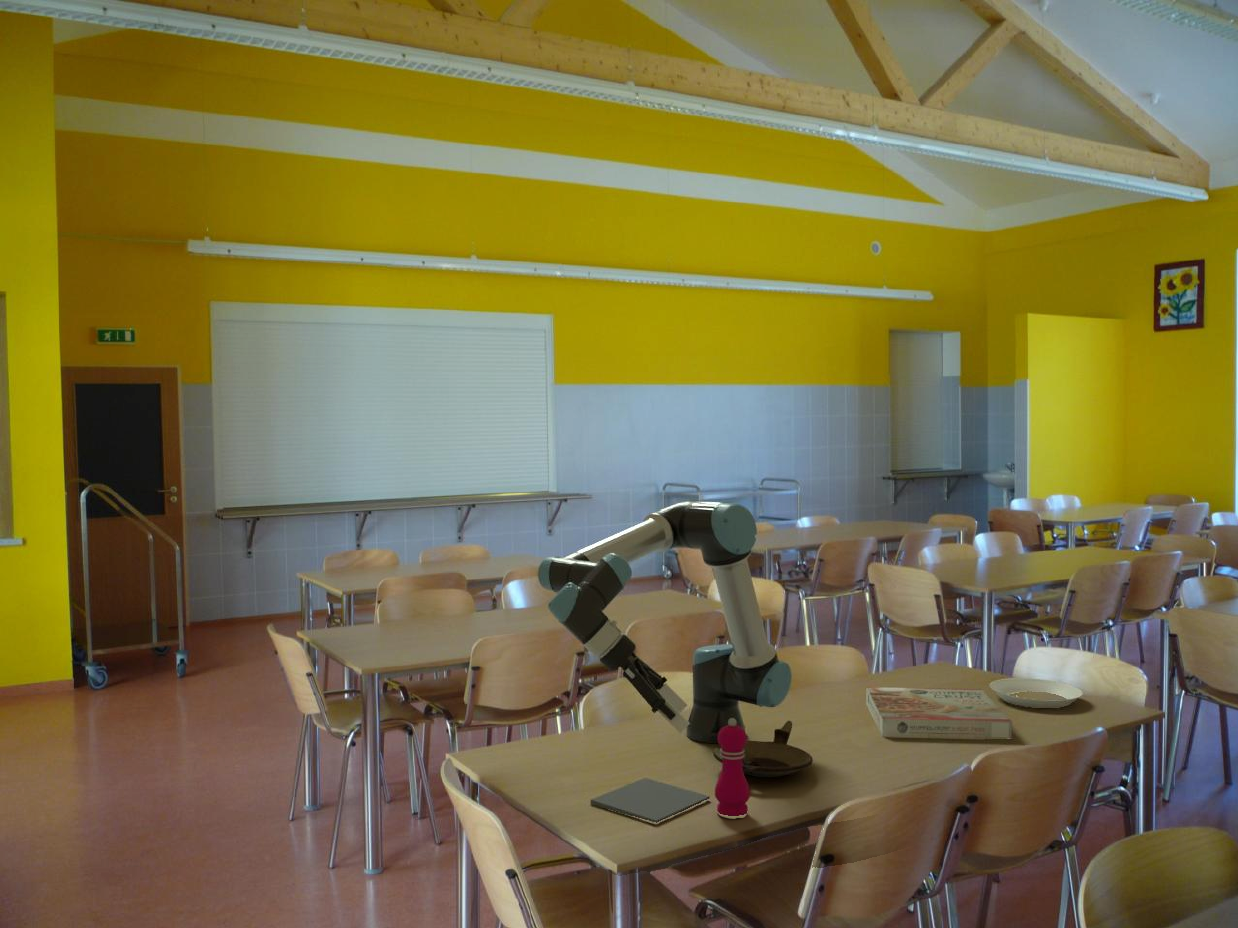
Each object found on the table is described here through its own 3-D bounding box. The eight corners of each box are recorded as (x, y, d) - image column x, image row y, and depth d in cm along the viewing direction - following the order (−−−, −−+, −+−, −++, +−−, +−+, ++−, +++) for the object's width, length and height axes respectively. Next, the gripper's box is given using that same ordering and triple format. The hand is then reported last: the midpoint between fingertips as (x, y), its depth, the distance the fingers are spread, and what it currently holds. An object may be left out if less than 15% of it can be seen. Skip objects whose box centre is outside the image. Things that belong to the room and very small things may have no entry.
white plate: (971, 693, 314) (971, 681, 313) (1042, 687, 321) (1042, 675, 321) (1027, 716, 290) (1028, 703, 290) (1102, 708, 297) (1102, 695, 297)
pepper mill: (722, 822, 214) (722, 724, 213) (709, 809, 221) (709, 714, 220) (755, 818, 216) (755, 721, 215) (742, 805, 223) (742, 712, 222)
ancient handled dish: (690, 773, 244) (690, 740, 244) (776, 746, 264) (776, 716, 264) (764, 799, 227) (764, 764, 227) (849, 768, 247) (850, 736, 247)
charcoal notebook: (590, 804, 225) (590, 799, 225) (645, 782, 238) (645, 777, 238) (656, 825, 213) (656, 820, 213) (709, 800, 226) (709, 796, 226)
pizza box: (882, 718, 271) (866, 686, 303) (882, 738, 271) (866, 705, 303) (1011, 721, 268) (981, 688, 300) (1011, 741, 268) (981, 707, 300)
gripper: (622, 646, 205) (699, 722, 205) (624, 621, 230) (694, 690, 230) (594, 673, 206) (672, 749, 206) (600, 645, 231) (669, 714, 231)
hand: (684, 718), depth 218 cm, fingers open, 13 cm apart
